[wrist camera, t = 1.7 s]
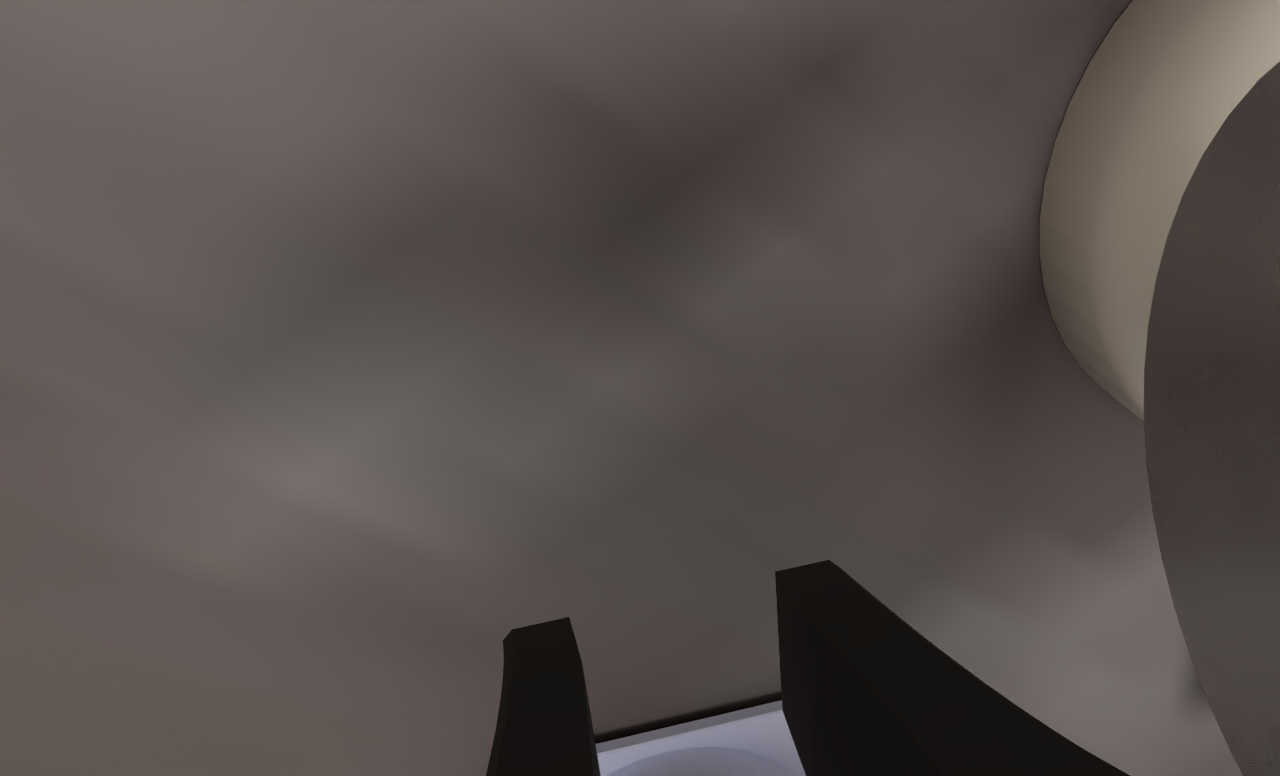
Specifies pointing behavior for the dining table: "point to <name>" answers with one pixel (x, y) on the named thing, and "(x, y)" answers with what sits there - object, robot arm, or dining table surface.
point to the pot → (1139, 168)
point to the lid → (1224, 423)
